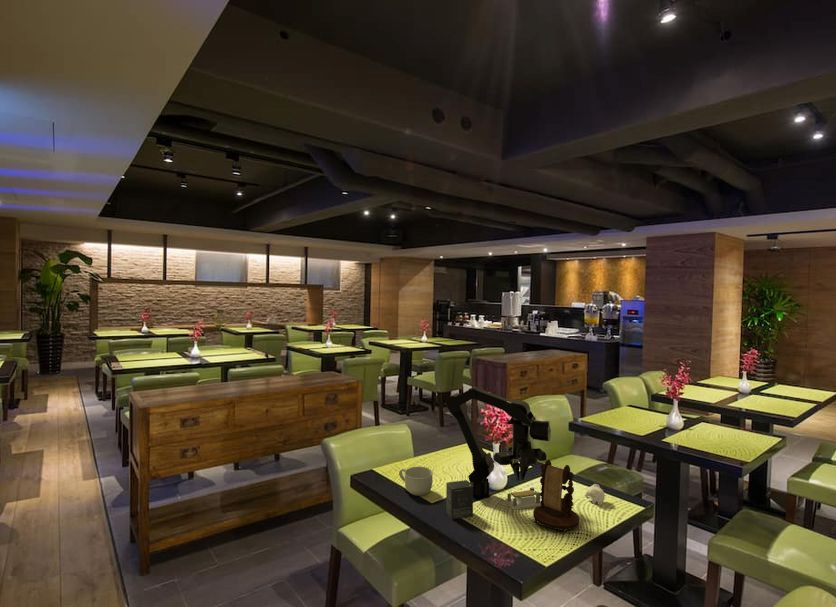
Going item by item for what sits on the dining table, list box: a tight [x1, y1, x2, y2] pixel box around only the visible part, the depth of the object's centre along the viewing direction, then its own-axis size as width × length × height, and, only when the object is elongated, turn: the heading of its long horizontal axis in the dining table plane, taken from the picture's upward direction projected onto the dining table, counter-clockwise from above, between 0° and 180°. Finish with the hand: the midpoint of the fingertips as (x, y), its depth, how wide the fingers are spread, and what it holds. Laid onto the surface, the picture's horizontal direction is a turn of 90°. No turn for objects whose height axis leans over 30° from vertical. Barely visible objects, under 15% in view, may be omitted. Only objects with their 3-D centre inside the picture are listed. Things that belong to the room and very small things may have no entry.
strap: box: [510, 489, 537, 498], centre depth 162 cm, size 10×3×1 cm, turn 108°
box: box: [445, 479, 474, 521], centre depth 153 cm, size 8×6×11 cm
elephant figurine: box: [584, 483, 607, 506], centre depth 164 cm, size 7×8×6 cm
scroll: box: [532, 459, 581, 534], centre depth 149 cm, size 15×15×20 cm
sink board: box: [504, 487, 541, 511], centre depth 162 cm, size 12×7×4 cm, turn 108°
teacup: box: [398, 465, 434, 497], centre depth 171 cm, size 14×11×8 cm
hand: (520, 480), depth 162 cm, fingers closed
